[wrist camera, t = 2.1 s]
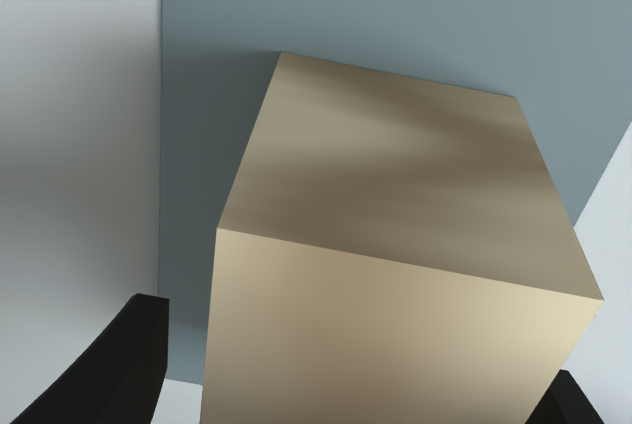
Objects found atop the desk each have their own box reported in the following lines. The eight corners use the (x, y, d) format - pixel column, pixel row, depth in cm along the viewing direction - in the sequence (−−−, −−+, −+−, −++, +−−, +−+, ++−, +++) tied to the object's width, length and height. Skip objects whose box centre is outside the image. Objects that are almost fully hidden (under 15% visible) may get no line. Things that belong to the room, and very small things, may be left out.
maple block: (516, 98, 12) (604, 300, 8) (406, 369, 18) (416, 591, 13) (281, 51, 12) (216, 228, 7) (241, 339, 18) (188, 551, 13)
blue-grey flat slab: (692, -2, 11) (697, 1, 11) (460, 426, 19) (461, 432, 19) (167, -109, 11) (163, -107, 11) (159, 372, 19) (156, 377, 19)
